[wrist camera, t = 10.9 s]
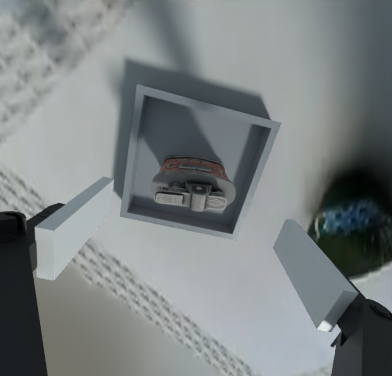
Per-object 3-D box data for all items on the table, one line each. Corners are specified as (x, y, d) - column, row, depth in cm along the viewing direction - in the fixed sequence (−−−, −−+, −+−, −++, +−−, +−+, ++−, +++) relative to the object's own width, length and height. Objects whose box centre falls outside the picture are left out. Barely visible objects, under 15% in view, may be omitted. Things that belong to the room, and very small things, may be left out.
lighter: (227, 159, 26) (245, 188, 17) (222, 184, 27) (237, 224, 18) (162, 151, 26) (145, 177, 16) (161, 177, 27) (143, 215, 17)
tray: (271, 121, 25) (281, 122, 22) (232, 228, 31) (236, 240, 28) (143, 86, 24) (136, 83, 21) (126, 205, 29) (119, 216, 26)
